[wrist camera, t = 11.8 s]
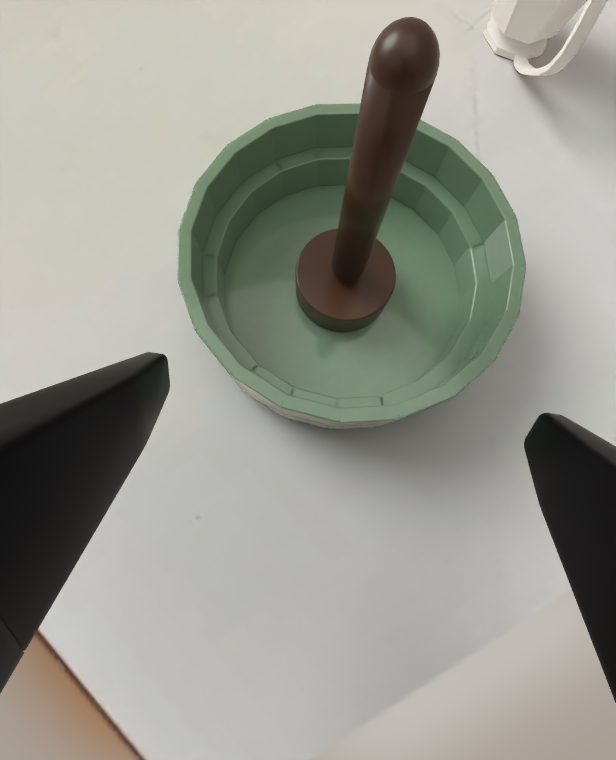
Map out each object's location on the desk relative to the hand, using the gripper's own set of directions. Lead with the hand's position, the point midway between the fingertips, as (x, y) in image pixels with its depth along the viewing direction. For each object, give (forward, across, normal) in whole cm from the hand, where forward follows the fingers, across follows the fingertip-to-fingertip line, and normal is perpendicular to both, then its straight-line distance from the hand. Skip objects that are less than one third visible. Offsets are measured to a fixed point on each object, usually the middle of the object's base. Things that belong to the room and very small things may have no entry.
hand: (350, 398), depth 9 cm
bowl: (+13, 0, +2) cm, 13 cm away
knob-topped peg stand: (+12, 0, +1) cm, 12 cm away
